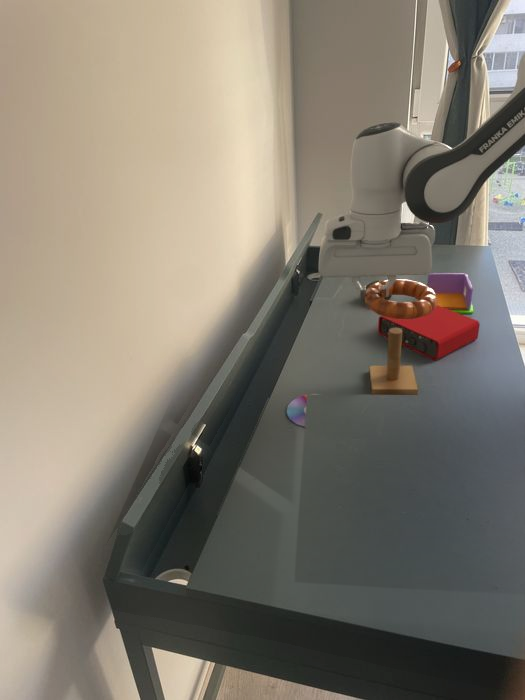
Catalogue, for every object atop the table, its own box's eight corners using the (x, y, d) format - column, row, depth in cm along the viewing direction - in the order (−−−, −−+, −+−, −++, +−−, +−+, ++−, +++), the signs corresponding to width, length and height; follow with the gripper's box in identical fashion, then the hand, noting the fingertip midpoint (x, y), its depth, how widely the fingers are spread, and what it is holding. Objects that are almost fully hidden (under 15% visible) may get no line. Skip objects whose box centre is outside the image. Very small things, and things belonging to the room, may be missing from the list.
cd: (355, 408, 104) (355, 407, 104) (317, 436, 97) (317, 435, 97) (311, 387, 111) (311, 387, 111) (274, 412, 105) (274, 412, 104)
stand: (411, 371, 114) (415, 319, 108) (417, 395, 106) (422, 341, 100) (369, 371, 115) (371, 320, 109) (372, 395, 107) (374, 341, 101)
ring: (429, 291, 105) (431, 277, 103) (441, 322, 93) (444, 307, 92) (362, 290, 106) (363, 276, 105) (366, 321, 95) (367, 306, 93)
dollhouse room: (467, 294, 145) (470, 271, 141) (474, 314, 135) (478, 289, 131) (422, 294, 147) (424, 271, 144) (425, 313, 137) (428, 289, 133)
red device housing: (378, 333, 130) (378, 315, 127) (417, 315, 136) (418, 298, 134) (437, 361, 117) (439, 342, 114) (477, 340, 123) (480, 321, 121)
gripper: (433, 216, 94) (426, 288, 101) (317, 221, 96) (319, 290, 103) (439, 227, 88) (432, 302, 95) (317, 231, 91) (318, 304, 98)
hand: (372, 296), depth 99 cm, fingers closed on ring, 3 cm apart
